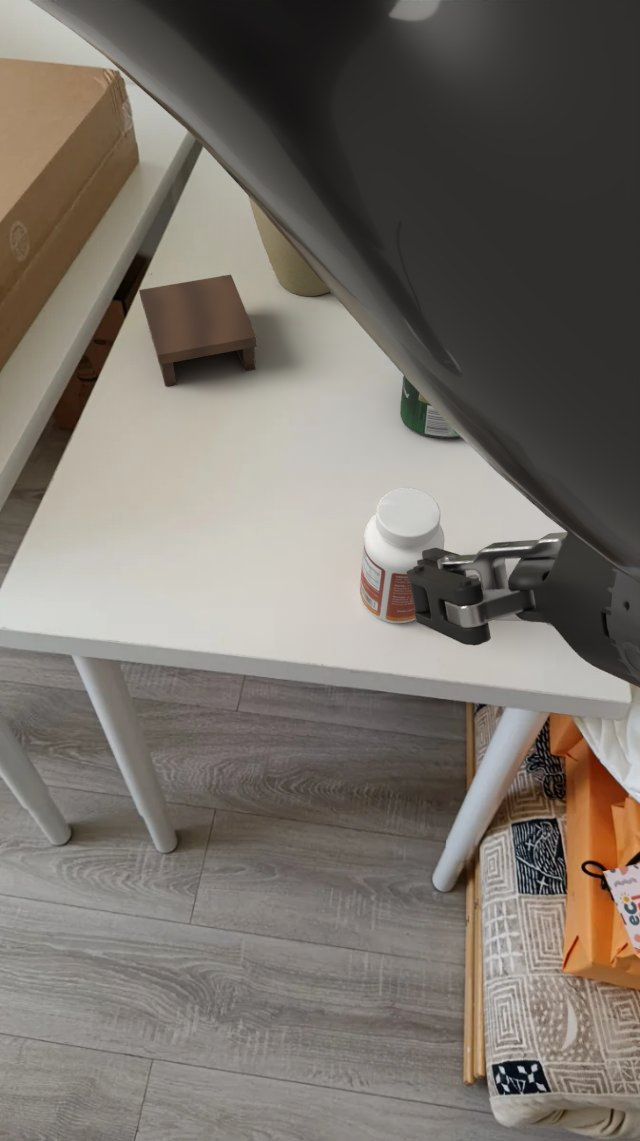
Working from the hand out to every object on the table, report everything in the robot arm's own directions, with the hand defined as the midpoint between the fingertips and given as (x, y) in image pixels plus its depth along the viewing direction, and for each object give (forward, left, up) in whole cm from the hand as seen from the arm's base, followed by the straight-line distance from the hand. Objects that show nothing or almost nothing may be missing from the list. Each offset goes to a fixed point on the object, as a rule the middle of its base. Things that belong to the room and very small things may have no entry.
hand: (502, 548), depth 42 cm
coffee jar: (+12, +31, -21) cm, 39 cm away
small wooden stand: (-9, +47, -21) cm, 52 cm away
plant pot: (+6, +56, -21) cm, 60 cm away
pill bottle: (0, +11, -21) cm, 24 cm away
